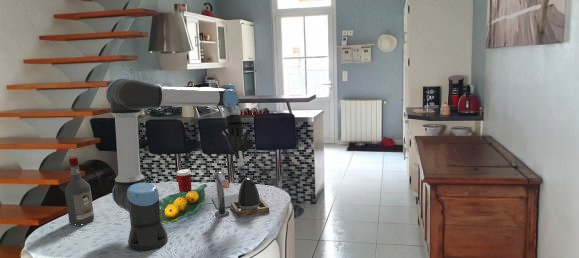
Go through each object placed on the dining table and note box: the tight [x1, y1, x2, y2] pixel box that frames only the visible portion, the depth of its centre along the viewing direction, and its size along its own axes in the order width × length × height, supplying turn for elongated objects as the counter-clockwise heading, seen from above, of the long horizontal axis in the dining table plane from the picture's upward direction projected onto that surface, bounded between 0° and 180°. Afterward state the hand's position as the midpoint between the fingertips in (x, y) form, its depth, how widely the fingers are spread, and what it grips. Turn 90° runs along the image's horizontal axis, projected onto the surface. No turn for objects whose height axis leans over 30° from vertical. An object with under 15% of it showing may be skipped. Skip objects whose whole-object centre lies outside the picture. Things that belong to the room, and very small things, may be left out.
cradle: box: [230, 196, 270, 219], centre depth 215 cm, size 15×15×2 cm
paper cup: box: [175, 168, 192, 194], centre depth 236 cm, size 8×8×14 cm
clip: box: [213, 170, 230, 189], centre depth 200 cm, size 21×4×2 cm, turn 18°
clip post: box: [214, 177, 230, 218], centre depth 209 cm, size 6×6×18 cm
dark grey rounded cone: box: [238, 177, 260, 211], centre depth 214 cm, size 10×10×15 cm
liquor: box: [64, 156, 95, 226], centre depth 208 cm, size 9×9×30 cm
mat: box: [211, 193, 239, 211], centre depth 227 cm, size 16×16×1 cm
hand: (241, 165), depth 208 cm, fingers closed
